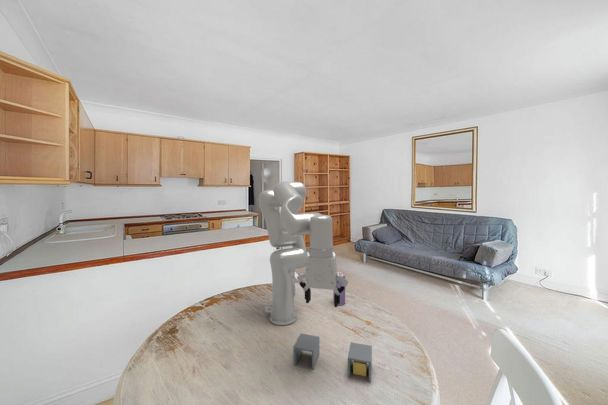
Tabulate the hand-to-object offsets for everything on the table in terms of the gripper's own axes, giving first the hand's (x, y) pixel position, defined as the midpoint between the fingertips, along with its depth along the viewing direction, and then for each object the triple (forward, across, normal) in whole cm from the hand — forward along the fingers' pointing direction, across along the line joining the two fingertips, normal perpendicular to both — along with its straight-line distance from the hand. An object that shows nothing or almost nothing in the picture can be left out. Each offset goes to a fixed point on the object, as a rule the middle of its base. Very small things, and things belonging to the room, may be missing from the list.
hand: (322, 303), depth 82 cm
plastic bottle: (+20, -31, +47) cm, 60 cm away
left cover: (+21, -6, +1) cm, 22 cm away
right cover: (+21, +12, +1) cm, 24 cm away
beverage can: (+20, -3, +46) cm, 50 cm away
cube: (+21, +12, +1) cm, 24 cm away
